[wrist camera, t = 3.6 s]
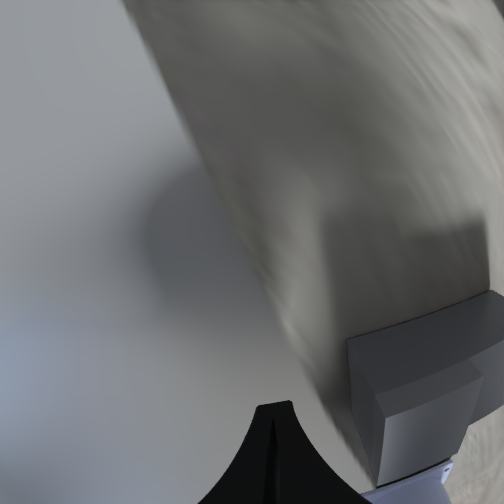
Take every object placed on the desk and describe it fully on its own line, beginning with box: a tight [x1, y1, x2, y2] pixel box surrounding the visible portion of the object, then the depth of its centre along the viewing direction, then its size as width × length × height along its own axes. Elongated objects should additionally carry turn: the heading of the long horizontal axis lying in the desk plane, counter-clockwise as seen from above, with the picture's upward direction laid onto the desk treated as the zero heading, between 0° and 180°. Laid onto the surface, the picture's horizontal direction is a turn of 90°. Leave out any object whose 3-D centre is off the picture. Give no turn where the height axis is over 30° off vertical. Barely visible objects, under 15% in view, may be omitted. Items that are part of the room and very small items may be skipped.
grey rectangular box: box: [347, 290, 504, 486], centre depth 9 cm, size 4×8×5 cm, turn 103°
